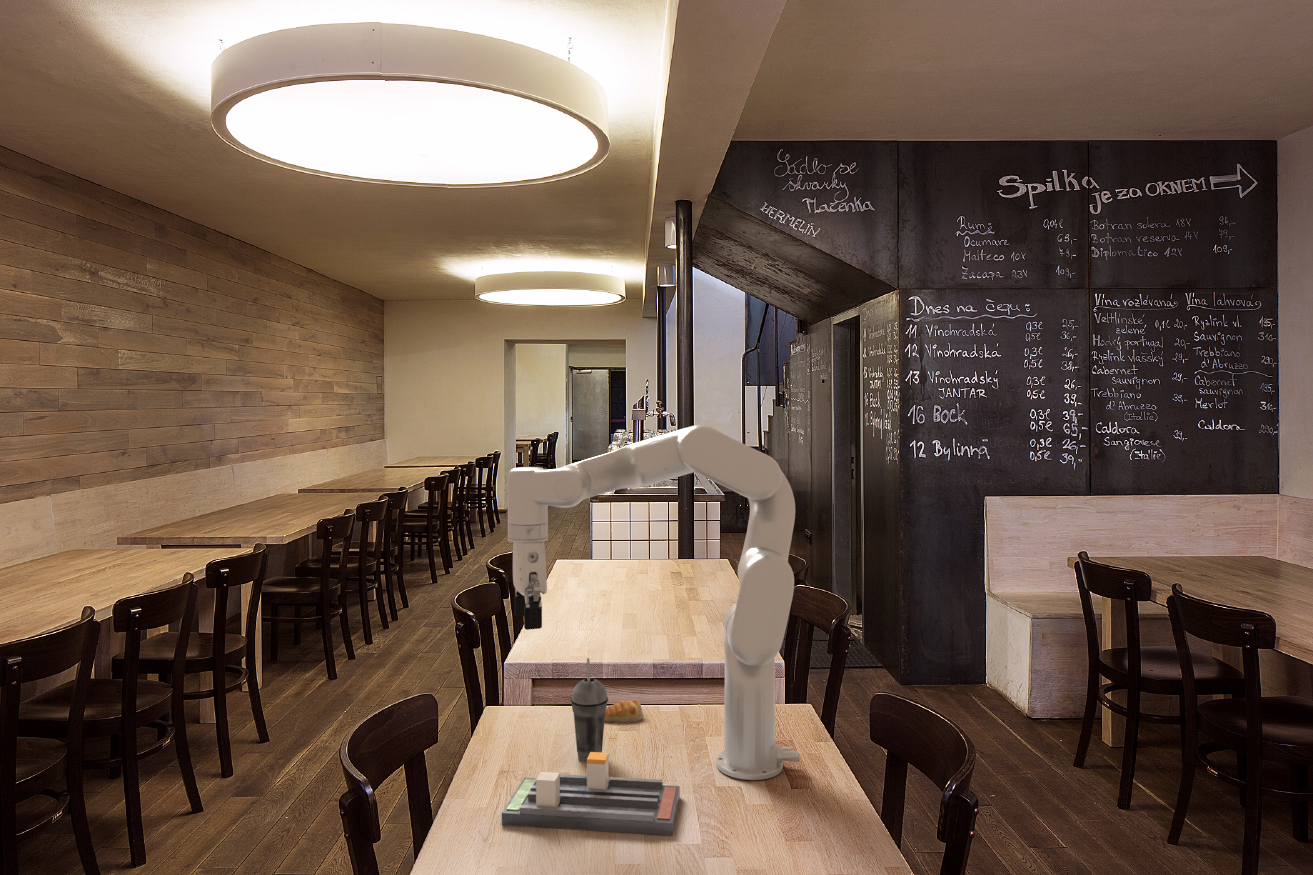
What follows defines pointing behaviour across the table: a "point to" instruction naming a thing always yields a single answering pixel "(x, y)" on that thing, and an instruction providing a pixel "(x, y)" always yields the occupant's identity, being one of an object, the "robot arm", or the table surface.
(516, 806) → the gray rail tray
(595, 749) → the beverage cup
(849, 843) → the table surface
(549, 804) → the block
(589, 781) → the block
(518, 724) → the table surface
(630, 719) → the pastry
